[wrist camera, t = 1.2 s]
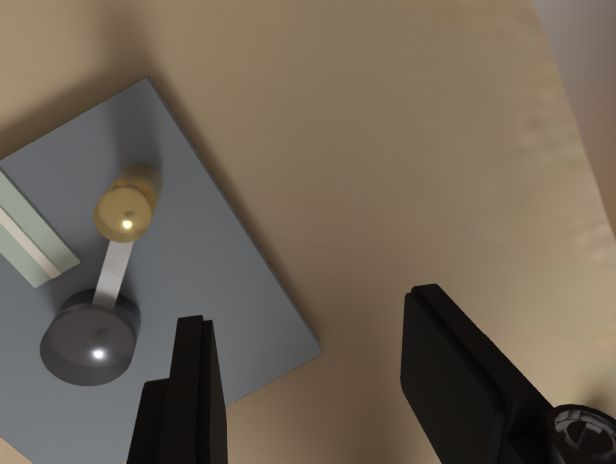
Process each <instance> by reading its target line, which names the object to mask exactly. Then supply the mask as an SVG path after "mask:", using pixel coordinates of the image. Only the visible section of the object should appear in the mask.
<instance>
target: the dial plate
mask: <svg viewBox="0 0 616 464" xmlns="http://www.w3.org/2000/svg"><path fill="white" fill-rule="evenodd" d="M133 163H145V164H148V165H150V166H152V167H154V168H155V169H156V170H157V171H158V172H159V173H160V175H161V177H162V180H163V190H162V193H161V195H160V198H159V201H158V203H157V206H156V209H155V211H154V214H153V216H152V219H151V222H150V224H149V227H148V229H147V231H146V233H145V234H144V235H143V236H142V237H141V238H139V239H137V240H135V243H134V246H133V249H132V253H131V256H130V259H129V262H128V266H127V269H126V272H125V275H124V279H123V282H122V285H121V288H120V292H119V294H121V295H123V296H125V297H126V298H128V299H129V300H130V301H131V302H132V303H133V304H134V305H135V307H136V308H137V310H138V312H139V314H140V318H141V328H140V332H139V336H138V340H137V343H136V347H135V351H134V354H133V358H132V361H131V364H130V366H129V367H128V369H127V370H126V371H125V372H124V373H123V374H122V375H121V376H120V377H118V378H117V379H115V380H113V381H112V382H109V383H107V384H103V385H98V386H77V385H73V384H69V383H66V382H64V381H62V380H60V379H58V378H57V377H55V376H54V375H53V374H51V373H50V372H49V371H48V370H47V368H46V367H45V366H44V364H43V362H42V359H41V357H40V343H41V340H42V337H43V336H44V334H45V332H46V330H47V329H48V327H49V325H50V324H51V322H52V320H53V319H54V317H55V315H56V314H57V312H58V310H59V309H60V307H61V305H62V304H63V303H64V302H65V301H66V300H67V299H68V298H69V297H71V296H72V295H74V294H76V293H78V292H80V291H83V290H88V289H96V288H97V285H98V281H99V278H100V274H101V271H102V267H103V264H104V261H105V257H106V254H107V250H108V247H109V243H110V240H109V239H107V238H106V237H104V236H103V235H102V234H101V233H100V232H99V231H98V230H97V228H96V227H95V224H94V221H93V210H94V207H95V205H96V204H97V202H98V201H99V200H100V198H101V197H102V196H103V195H104V193H105V192H106V191H107V189H108V188H109V187H110V185H111V184H112V183H113V182H114V180H115V179H116V178H117V176H118V175H119V174H120V172H121V171H122V170H123V169H124V168H125V167H126V166H128V165H130V164H133ZM195 315H203V318H204V321H205V320H213V326H214V333H215V340H216V346H217V353H218V360H219V367H220V374H221V381H222V388H223V395H224V402H225V407H226V406H228V405H229V404H231V403H233V402H235V401H237V400H239V399H240V398H242V397H244V396H246V395H248V394H249V393H251V392H253V391H255V390H257V389H259V388H260V387H262V386H264V385H266V384H268V383H270V382H271V381H273V380H275V379H277V378H279V377H281V376H282V375H284V374H286V373H288V372H290V371H291V370H293V369H295V368H297V367H299V366H301V365H302V364H304V363H306V362H308V361H310V360H312V359H313V358H315V357H317V356H319V355H321V354H322V353H323V351H322V348H321V345H320V343H319V340H318V339H317V337H316V336H315V334H314V332H313V331H312V329H311V328H310V326H309V325H308V323H307V322H306V320H305V318H304V317H303V315H302V314H301V312H300V311H299V309H298V307H297V306H296V304H295V303H294V301H293V300H292V298H291V296H290V295H289V293H288V292H287V290H286V289H285V287H284V286H283V284H282V282H281V281H280V279H279V278H278V276H277V275H276V273H275V271H274V270H273V268H272V267H271V265H270V264H269V262H268V261H267V259H266V257H265V256H264V254H263V253H262V251H261V250H260V248H259V246H258V245H257V243H256V242H255V240H254V239H253V237H252V235H251V234H250V232H249V231H248V229H247V228H246V226H245V225H244V223H243V221H242V220H241V218H240V217H239V215H238V214H237V212H236V210H235V209H234V207H233V206H232V204H231V203H230V201H229V200H228V198H227V196H226V195H225V193H224V192H223V190H222V189H221V187H220V185H219V184H218V182H217V181H216V179H215V178H214V176H213V174H212V173H211V171H210V170H209V168H208V167H207V165H206V164H205V162H204V160H203V159H202V157H201V156H200V154H199V153H198V151H197V149H196V148H195V146H194V145H193V143H192V142H191V140H190V139H189V137H188V135H187V134H186V132H185V131H184V129H183V128H182V126H181V124H180V123H179V121H178V120H177V118H176V117H175V115H174V113H173V112H172V110H171V109H170V107H169V106H168V104H167V103H166V101H165V99H164V98H163V96H162V95H161V93H160V92H159V90H158V88H157V87H156V85H155V84H154V82H153V81H152V79H151V78H150V76H148V77H146V78H144V79H142V80H141V81H139V82H137V83H135V84H134V85H132V86H130V87H128V88H127V89H125V90H123V91H121V92H120V93H118V94H116V95H114V96H113V97H111V98H109V99H107V100H106V101H104V102H102V103H100V104H99V105H97V106H95V107H93V108H91V109H90V110H88V111H86V112H84V113H83V114H81V115H79V116H77V117H76V118H74V119H72V120H70V121H69V122H67V123H65V124H63V125H62V126H60V127H58V128H56V129H55V130H53V131H51V132H49V133H48V134H46V135H44V136H42V137H41V138H39V139H37V140H35V141H33V142H32V143H30V144H28V145H26V146H25V147H23V148H21V149H19V150H18V151H16V152H14V153H12V154H11V155H9V156H7V157H5V158H4V159H2V160H0V437H1V438H2V439H3V440H5V441H6V442H7V443H8V444H10V445H11V446H12V447H13V448H15V449H16V450H17V451H18V452H20V453H21V454H22V455H23V456H25V457H26V458H27V459H28V460H30V461H31V462H32V463H33V464H122V463H123V462H125V461H127V458H128V453H129V449H130V444H131V440H132V435H133V430H134V426H135V421H136V417H137V412H138V407H139V403H140V398H141V394H142V389H143V386H144V383H145V382H146V381H152V380H158V379H165V378H169V375H170V368H171V361H172V354H173V347H174V340H175V333H176V326H177V320H178V318H180V317H188V316H195Z"/></svg>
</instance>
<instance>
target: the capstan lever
mask: <svg viewBox="0 0 616 464" xmlns="http://www.w3.org/2000/svg"><path fill="white" fill-rule="evenodd" d="M162 190H163V180H162V177H161V175H160V173H159V172H158V171H157V170H156V169H155V168H154V167H152V166H150V165H148V164H145V163H133V164H130V165H128V166H126V167H125V168H124V169H123V170H122V171H121V172H120V174H119V175H118V176H117V178H116V179H115V180H114V182H113V183H112V184H111V185H110V187H109V188H108V189H107V191H106V192H105V193H104V195H103V196H102V197H101V198H100V200H99V201H98V202H97V204H96V205H95V207H94V210H93V221H94V224H95V227H96V228H97V230H98V231H99V232H100V233H101V234H102V235H103V236H104V237H106V238H107V239H109V240H110V243H109V247H108V250H107V254H106V257H105V261H104V264H103V267H102V271H101V274H100V278H99V281H98V285H97V288H96V289H88V290H83V291H80V292H78V293H76V294H74V295H72V296H71V297H69V298H68V299H67V300H66V301H65V302H64V303H63V304H62V305H61V307H60V309H59V310H58V312H57V314H56V315H55V317H54V319H53V320H52V322H51V324H50V325H49V327H48V329H47V330H46V332H45V334H44V336H43V337H42V340H41V343H40V357H41V359H42V362H43V364H44V366H45V367H46V368H47V370H48V371H49V372H50V373H51V374H53V375H54V376H55V377H57V378H58V379H60V380H62V381H64V382H66V383H69V384H73V385H77V386H98V385H103V384H107V383H109V382H112V381H113V380H115V379H117V378H118V377H120V376H121V375H122V374H123V373H124V372H125V371H126V370H127V369H128V367H129V366H130V364H131V361H132V358H133V354H134V351H135V347H136V343H137V340H138V336H139V332H140V328H141V318H140V314H139V312H138V310H137V308H136V307H135V305H134V304H133V303H132V302H131V301H130V300H129V299H128V298H126V297H125V296H123V295H121V294H119V292H120V288H121V285H122V282H123V279H124V275H125V272H126V269H127V266H128V262H129V259H130V256H131V253H132V249H133V246H134V243H135V240H137V239H139V238H141V237H142V236H143V235H144V234H145V233H146V231H147V229H148V227H149V224H150V222H151V219H152V216H153V214H154V211H155V209H156V206H157V203H158V201H159V198H160V195H161V193H162Z"/></svg>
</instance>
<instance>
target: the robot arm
mask: <svg viewBox="0 0 616 464" xmlns="http://www.w3.org/2000/svg"><path fill="white" fill-rule="evenodd" d="M400 381H401V387H402V390H403V393H404V395H405V397H406V399H407V400H408V402H409V404H410V406H411V408H412V410H413V411H414V413H415V415H416V417H417V419H418V421H419V423H420V424H421V426H422V428H423V430H424V432H425V434H426V435H427V437H428V439H429V441H430V443H431V445H432V447H433V448H434V450H435V452H436V454H437V456H438V458H439V460H440V461H441V463H442V464H616V420H615V419H614V418H613V417H611V416H609V415H607V414H605V413H603V412H601V411H599V410H597V409H593V408H590V407H587V406H584V405H575V404H566V405H559V406H557V407H555V408H554V407H553V406H552V405H551V404H550V403H549V402H548V401H547V400H546V399H545V398H544V397H543V396H542V394H541V393H540V392H539V391H538V390H537V389H536V388H535V387H534V386H533V385H532V384H531V383H530V382H529V381H528V380H527V378H526V377H525V376H524V375H523V374H522V373H521V372H520V371H519V370H518V369H517V368H516V367H515V366H514V365H513V364H512V362H511V361H510V360H509V359H508V358H507V357H506V356H505V355H504V354H503V353H502V352H501V351H500V350H499V349H498V347H497V346H496V345H495V344H494V343H493V342H492V341H491V340H490V339H489V338H488V337H487V336H486V335H485V334H484V333H483V332H482V331H481V330H480V329H479V328H478V327H477V326H476V325H475V324H474V323H473V322H472V321H471V320H470V319H469V318H468V316H467V315H466V314H465V313H464V312H463V311H462V310H461V309H460V308H459V307H458V306H457V305H456V304H455V303H454V301H453V300H452V299H451V298H450V297H449V296H448V295H447V294H446V293H445V292H444V291H443V290H442V289H441V288H440V286H439V285H437V284H428V285H420V286H414V287H413V288H412V290H411V293H407V294H406V295H405V303H404V321H403V339H402V356H401V374H400ZM126 464H228V455H227V421H226V409H225V402H224V395H223V388H222V381H221V374H220V367H219V360H218V353H217V346H216V340H215V333H214V326H213V320H205V321H204V318H203V315H195V316H188V317H180V318H178V320H177V326H176V333H175V340H174V347H173V354H172V361H171V368H170V375H169V378H165V379H158V380H152V381H146V382H145V383H144V386H143V389H142V394H141V398H140V403H139V407H138V412H137V417H136V421H135V426H134V430H133V435H132V440H131V444H130V449H129V453H128V458H127V463H126Z"/></svg>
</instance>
